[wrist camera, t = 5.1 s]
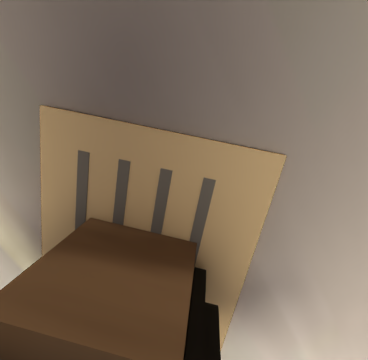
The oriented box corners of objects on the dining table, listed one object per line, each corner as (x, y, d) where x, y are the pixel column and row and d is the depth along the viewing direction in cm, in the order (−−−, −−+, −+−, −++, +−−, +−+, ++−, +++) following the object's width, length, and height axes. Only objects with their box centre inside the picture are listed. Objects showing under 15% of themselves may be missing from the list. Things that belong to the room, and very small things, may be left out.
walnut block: (90, 217, 10) (-29, 313, 5) (197, 243, 9) (181, 373, 4) (85, 300, 11) (-10, 437, 6) (177, 325, 11) (149, 489, 6)
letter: (45, 105, 9) (38, 105, 8) (284, 154, 8) (287, 156, 8) (47, 342, 13) (42, 348, 13) (205, 387, 12) (205, 395, 12)
